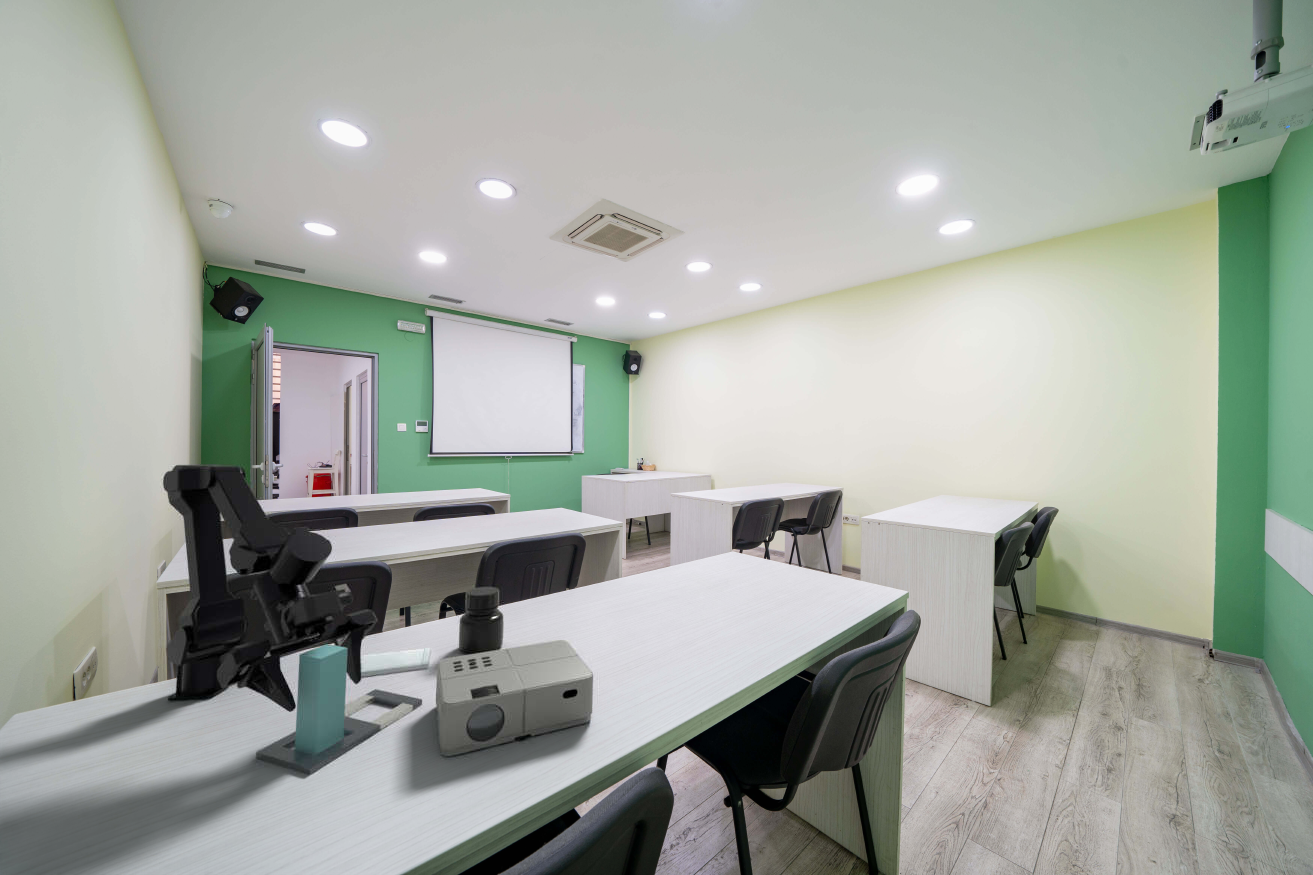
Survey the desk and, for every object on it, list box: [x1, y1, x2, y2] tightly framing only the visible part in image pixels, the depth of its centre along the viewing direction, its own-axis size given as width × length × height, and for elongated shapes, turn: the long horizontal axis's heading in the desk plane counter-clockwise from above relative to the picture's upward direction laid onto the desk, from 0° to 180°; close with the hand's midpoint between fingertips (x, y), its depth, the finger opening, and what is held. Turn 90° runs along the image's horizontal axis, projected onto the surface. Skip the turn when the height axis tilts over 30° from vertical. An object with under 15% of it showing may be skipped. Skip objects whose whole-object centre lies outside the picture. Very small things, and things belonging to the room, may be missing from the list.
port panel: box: [255, 688, 423, 776], centre depth 71 cm, size 18×10×1 cm, turn 162°
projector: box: [435, 639, 594, 757], centre depth 76 cm, size 17×22×8 cm
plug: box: [294, 643, 348, 756], centre depth 67 cm, size 4×4×13 cm
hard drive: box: [361, 647, 432, 678], centre depth 93 cm, size 2×8×12 cm
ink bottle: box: [458, 586, 505, 655], centre depth 102 cm, size 10×9×12 cm
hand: (327, 695), depth 67 cm, fingers open, 8 cm apart
